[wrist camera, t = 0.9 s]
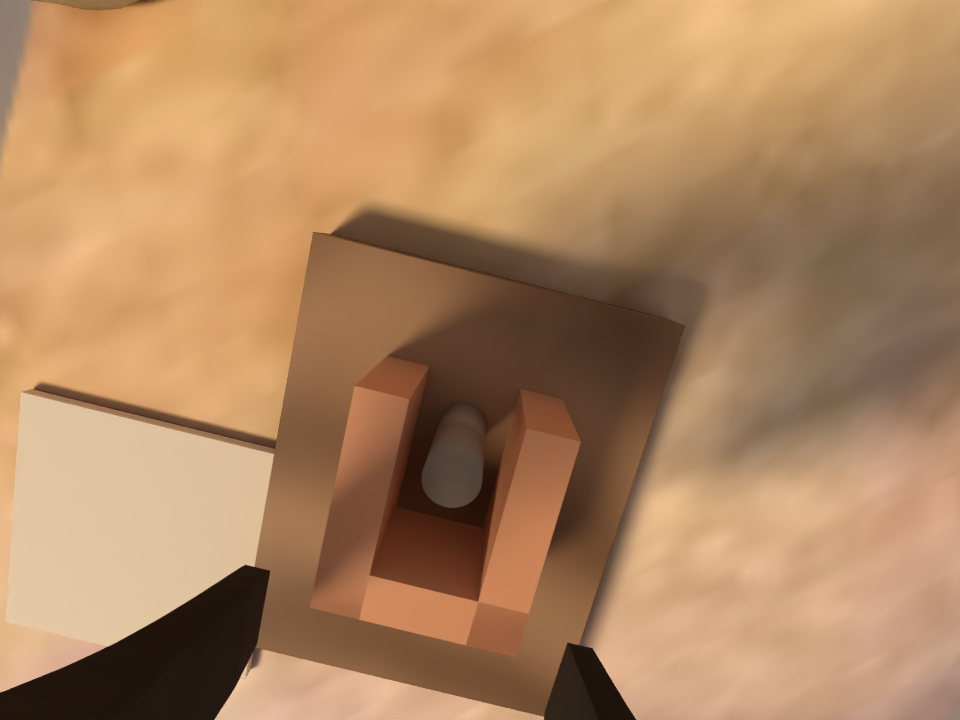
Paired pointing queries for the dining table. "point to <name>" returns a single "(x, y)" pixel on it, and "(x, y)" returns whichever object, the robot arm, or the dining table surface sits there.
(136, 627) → the felt mat
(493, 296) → the stand
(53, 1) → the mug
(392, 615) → the c link
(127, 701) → the robot arm
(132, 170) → the dining table surface
